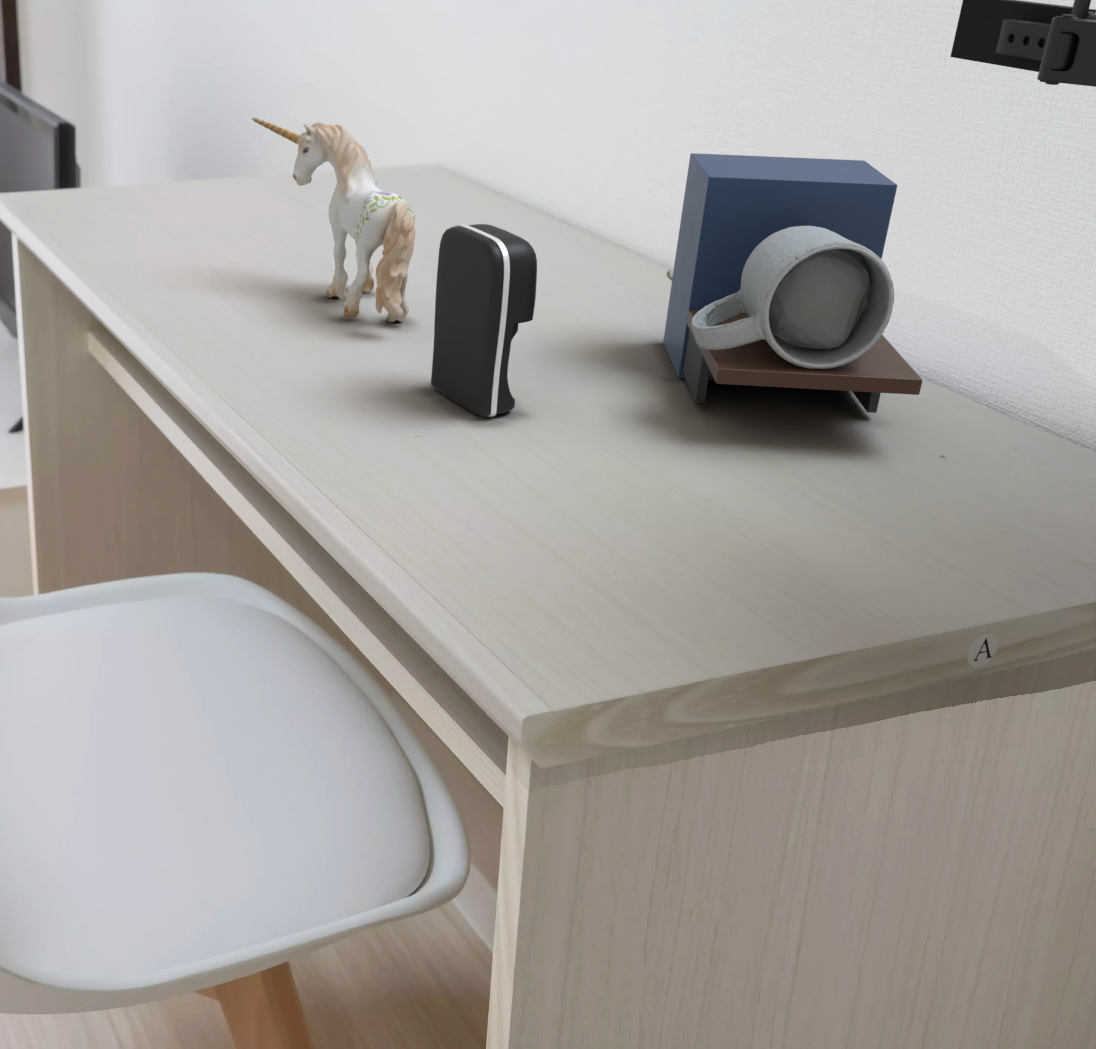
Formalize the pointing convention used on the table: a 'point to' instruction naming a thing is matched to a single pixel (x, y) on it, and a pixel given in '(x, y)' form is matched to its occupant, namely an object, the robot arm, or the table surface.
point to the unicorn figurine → (358, 217)
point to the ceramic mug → (804, 300)
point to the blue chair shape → (733, 233)
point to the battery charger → (480, 313)
